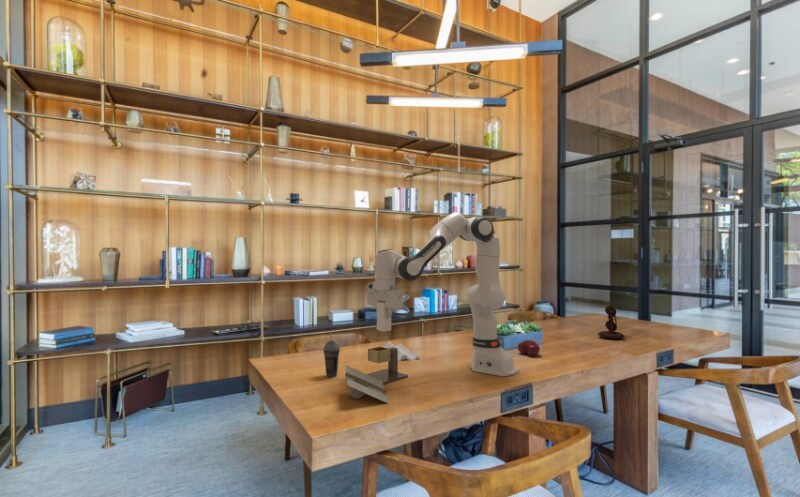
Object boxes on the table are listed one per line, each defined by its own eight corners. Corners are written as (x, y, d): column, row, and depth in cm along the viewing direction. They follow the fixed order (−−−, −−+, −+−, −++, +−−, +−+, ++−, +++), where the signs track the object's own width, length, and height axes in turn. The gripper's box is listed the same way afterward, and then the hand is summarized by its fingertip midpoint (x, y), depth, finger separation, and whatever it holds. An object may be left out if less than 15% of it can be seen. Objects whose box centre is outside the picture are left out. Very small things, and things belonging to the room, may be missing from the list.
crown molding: (419, 360, 205) (419, 353, 205) (397, 362, 202) (397, 355, 202) (401, 347, 235) (401, 340, 235) (382, 348, 232) (382, 342, 232)
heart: (528, 349, 221) (515, 354, 216) (527, 336, 220) (514, 340, 215) (546, 354, 211) (533, 360, 206) (545, 340, 210) (532, 345, 205)
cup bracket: (407, 377, 175) (407, 347, 175) (380, 385, 164) (380, 354, 164) (386, 370, 185) (386, 342, 185) (359, 378, 174) (359, 348, 174)
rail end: (391, 330, 175) (391, 300, 175) (383, 331, 172) (384, 301, 172) (384, 328, 178) (385, 299, 179) (376, 329, 175) (377, 300, 175)
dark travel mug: (326, 379, 172) (326, 333, 173) (321, 375, 179) (321, 330, 179) (342, 377, 176) (342, 331, 176) (336, 372, 182) (336, 329, 182)
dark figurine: (626, 341, 244) (625, 308, 244) (599, 339, 249) (599, 307, 250) (622, 336, 258) (621, 305, 258) (596, 335, 263) (596, 304, 263)
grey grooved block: (366, 398, 162) (334, 374, 158) (382, 380, 162) (351, 355, 159) (371, 424, 144) (336, 398, 140) (389, 404, 144) (355, 377, 140)
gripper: (406, 287, 170) (405, 319, 170) (375, 284, 185) (375, 314, 185) (395, 287, 166) (394, 321, 165) (365, 284, 181) (364, 315, 180)
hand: (384, 317), depth 175 cm, fingers closed on rail end, 4 cm apart
